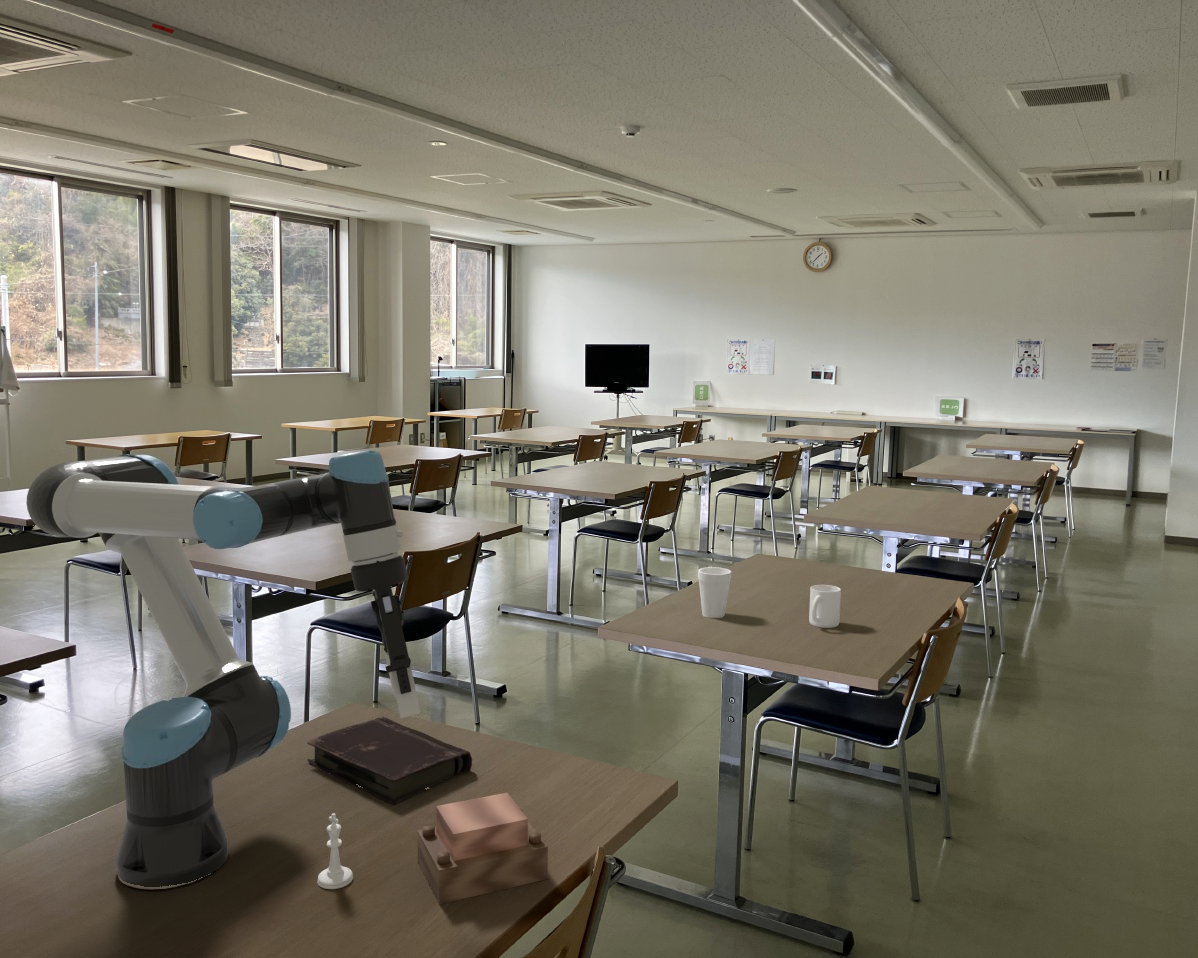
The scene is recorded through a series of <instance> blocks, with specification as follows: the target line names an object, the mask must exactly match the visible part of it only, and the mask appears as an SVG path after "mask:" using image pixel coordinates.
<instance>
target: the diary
mask: <svg viewBox="0 0 1198 958" xmlns="http://www.w3.org/2000/svg"><path fill="white" fill-rule="evenodd" d="M306 744H307V745H309V746H311V747H314V758H313V759H311V758H310V759H309V758H307V760H306V761H307V762H308V763H309V765H311V766H313V767H315V768H316V767H317V768H316V769H318V768H319V769H318V770H320V769H321V770H320V771H322V770H323V771H322V772H324V771H325V772H324V773H326V774H328V773H330V774H331V775H330V774H329V775H330V776H332V775H333V777H334V776H335V778H336V777H337V778H336V779H339V780H341V781H343V782H346V783H347V784H349V783H350V784H349V785H351V786H352V785H353V786H352V787H354V786H355V787H354V788H356V787H358V785H359V786H361V787H363V788H364V789H365V791H366V790H367V792H368V793H371V794H372V795H373V796H374V797H376V798H377V799H379V800H381V801H383V802H385V803H387V804H389V805H390V806H392V807H393V806H395V805H397V804H400V803H403V802H404V801H407V800H408V799H412V798H414V797H416V796H418V795H421V794H422V793H425V792H428V791H429V790H430V789H427V790H426V789H425V788H427V787H432V786H434V785H436V784H438V782H439V783H440V781H441V782H443V781H445V780H448V779H450V778H453V777H454V774H455V773H456V774H455V775H458V774H459V775H460V773H461V770H462V771H465V772H467V773H471V770H472V766H473V758H472V755H471V752H470V751H468V750H466V749H463V748H461V747H458V746H455V745H452V744H449V743H447V742H444V741H442V740H441V739H438V738H436V737H433V736H431V735H429V734H428V733H427V734H426V733H425V732H422V731H420V730H416V729H414V728H411V727H407V726H405V725H403V724H401V723H398V722H396V721H394V720H392V719H390V718H388V717H387V716H383V715H382V716H380V717H376V718H375V719H371V720H367V721H364V722H360V723H356V724H353V725H349V726H346V727H343V728H340V729H337V730H334V731H330V732H327V733H325V734H322V735H319V736H317V737H315V738H311V739H310V740H309V741H307V742H306ZM447 778H448V779H447ZM442 780H443V781H442ZM356 784H358V785H356ZM433 784H434V785H433ZM431 785H432V786H431ZM358 788H359V787H358ZM358 788H357V789H358ZM364 789H363V790H364ZM359 790H360V788H359Z"/></svg>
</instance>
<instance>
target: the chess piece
mask: <svg viewBox="0 0 1198 958" xmlns="http://www.w3.org/2000/svg"><path fill="white" fill-rule="evenodd" d="M336 815H337V814H336V813H334V812H333V813H331V816H328V820H329V821H330V822H331V824H329V825H327V827H326V831H327V834H328V837H329V839H328V840H327V841H326V846H327V848H330V856H329V863H328V865H329V866H328V867H327V868H326V869H324V870H322V871H321V872H320V873H319V874H318V876H317V882H316V883H317V885H318V886H319V887H321V888H322V889H326V890H336V889H340V888H344V887H346V886H348V885H349V884H350V883H352V881H353V879H354V874H353V871H352V870H351V869H350V868H349V867H346V866H343V865H341V859H340V854H339V853H340V852H339V847H340V846H342V845H343V841H342V839H341V838H340V837H339V836H340V833H341V830H342V826H341V824H339V819H338V818H337V817H336Z"/></svg>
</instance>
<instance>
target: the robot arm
mask: <svg viewBox="0 0 1198 958" xmlns="http://www.w3.org/2000/svg"><path fill="white" fill-rule="evenodd" d="M328 466H329V471H328V472H325V473H321V474H315V475H309V476H304V477H299V478H292V479H287V480H282V481H277V482H271V483H264V484H260V485H254V486H253V485H252V486H246V487H231V486H229V487H228V486H211V485H210V486H209V485H190V484H188V485H187V484H179V481H178V478H177V477H176V475H175V473H174V472H173V471H172V469H171V468H170V466H168V465H167V464H166V463H165V462H164V461H163V460H161V459H159V458H157V457H155V456H151V455H148V454H131V453H130V454H119V455H117V456H113V457H112V456H111V457H110V456H109V457H104V458H103V457H102V458H94V459H86V460H85V459H84V460H79V461H77V460H75V461H73V460H72V461H66V462H61V463H58V464H55V465H52V466H50V467H48V468H46V469H45V470H43V471H42V472H41V473H40V474H38V476H37V477H36V478H35V479H33V481H32V483H31V484H30V486H29V487H28V491H27V494H26V508H27V509H26V510H27V512H28V515H29V518H30V519H31V521H32V522H33V523H34V524H35V526H36V527H38V528H39V529H40V530H41V531H43V532H45V533H47V534H49V535H50V536H51V535H52V536H53V537H54V536H55V537H58V538H77V539H81V538H82V539H85V538H89V537H92V536H94V535H96V534H98V535H99V536H100V538H101V540H102V542H103V544H104V547H105V549H107V550H108V551H112V552H115V553H118V554H120V555H121V556H122V558H123V560H124V562H125V565H126V567H127V568H128V569H127V570H129V573H130V575H131V576H132V578H133V581H134V583H135V585H136V587H137V589H138V591H139V593H140V595H141V596H142V598H143V600H144V602H145V605H146V606H147V609H148V610H149V614H150V615H151V617H152V619H153V621H154V623H155V625H156V627H157V629H158V630H159V633H160V635H161V637H162V638H163V641H164V643H165V644H166V645H165V646H167V649H168V650H169V653H170V655H171V656H172V659H173V661H174V662H175V664H176V666H177V668H178V671H179V673H180V674H181V676H182V678H183V681H184V682H185V684H186V686H185V690H184V692H183V695H182V696H181V697H179V696H178V697H172V698H171V699H169V700H164V699H163V700H161V701H157V702H155V703H152V704H149V705H146V706H145V707H143V708H141V709H140V710H138V711H137V712H135V713H134V714H133V715H132V716H131V717H130V718H129V719H128V721H127V722H126V723H125V726H124V727H123V733H122V747H121V758H122V760H123V771H124V786H125V787H124V789H125V806H126V823H125V826H124V831H123V833H122V836H121V837H122V838H121V840H120V843H119V847H118V850H117V852H116V853H117V855H116V858H115V869H116V871H117V872H116V876H117V875H118V876H119V877H120V878H121V879H122V880H123V881H125V882H127V883H130V884H134V885H140V886H144V887H160V886H161V887H162V886H169V885H170V886H171V885H177V884H182V883H188V882H191V881H194V880H196V879H197V880H198V879H199V878H201V877H204V876H206V875H208V874H210V873H212V872H213V871H215V870H216V871H218V870H220V869H221V867H222V866H223V865H224V864H225V863H226V861H227V860H228V856H229V839H228V835H227V833H226V831H225V828H224V827H223V823H222V821H221V819H220V817H219V815H218V812H217V810H216V807H215V805H214V804H215V803H214V784H213V783H214V782H213V781H214V780H215V779H216V778H219V777H220V776H222V775H224V774H226V773H228V772H230V771H232V770H234V769H236V768H238V767H241V766H242V765H243V764H246V763H247V762H249V761H252V760H254V759H256V758H259V757H260V758H261V756H263V755H264V754H267V752H269V751H270V750H272V749H273V748H275V747H276V746H278V745H279V744H280V743H281V742H282V741H283V739H284V738H285V737H286V735H287V734H288V731H289V727H290V726H289V725H290V722H291V720H292V710H291V709H292V707H291V703H290V699H289V696H288V693H287V692H286V690H285V688H284V687H283V685H282V684H281V683H280V682H279V681H278V680H276V679H275V680H274V679H273V678H272V677H271V676H268V675H260V674H259V671H257V669H256V667H255V664H254V662H251V661H246V660H243V659H241V658H240V657H239V655H238V653H237V651H236V650H235V648H234V645H233V644H232V642H231V640H230V638H229V636H228V633H227V631H225V628H224V626H223V624H222V623H221V620H220V619H219V616H218V614H217V613H216V610H215V609H214V606H213V604H212V603H211V601H210V599H209V597H208V595H207V592H206V591H205V589H204V587H203V584H202V583H201V580H200V579H199V577H198V575H197V573H196V571H195V569H194V567H193V565H192V563H191V561H190V559H189V557H188V556H187V553H186V551H185V549H184V548H183V545H182V544H181V542H180V540H181V539H182V540H191V541H192V540H193V541H201V542H202V543H204V544H205V545H207V546H208V547H209V548H211V549H214V550H224V549H225V550H226V549H237V548H242V547H244V546H247V545H250V544H253V543H258V542H262V541H265V540H269V539H272V538H278V537H281V536H286V535H291V534H294V533H298V532H304V531H308V530H311V529H315V528H316V529H317V528H322V527H325V526H327V527H328V526H331V525H338V524H340V525H341V529H342V534H343V535H342V536H343V540H344V541H343V542H344V546H345V550H346V551H345V552H346V554H347V555H346V556H347V561H348V562H349V563H353V565H352V566H351V568H350V573H351V577H352V578H351V579H352V581H353V587H354V589H355V591H356V592H359V593H363V592H370V591H372V596H373V597H374V600H371V601H370V605H371V611H372V613H373V616H374V617H375V622H376V624H377V627H378V630H379V631H380V634H381V638H382V641H381V643H382V645H383V650H384V652H385V654H384V656H385V661H386V664H387V665H385V672H386V674H389V679H390V684H391V689H392V694H393V697H394V698H396V703H397V708H398V713H399V719H403V718H407V717H411V716H414V715H418V714H421V710H420V709H421V708H420V705H419V699H418V695H417V690H416V689H417V688H416V685H415V680H414V675H413V670H412V666H411V664H412V663H411V662H412V661H411V658H410V657H409V653H408V646H407V643H406V640H405V635H404V630H403V626H404V620H403V615H402V603H401V600H400V598H401V597H400V596H399V595H395V594H393V589H392V587H393V586H396V585H400V584H403V583H405V582H406V581H408V577H409V576H408V572H407V567H406V562H405V558H404V557H403V556H402V555H399V553H401V551H402V550H403V549H402V545H401V541H400V539H399V538H401V537H403V536H404V531H403V530H401V529H400V530H399V529H398V525H397V520H396V518H395V517H396V516H395V513H394V507H393V501H392V500H393V499H392V494H391V489H390V483H389V479H390V478H389V476H388V474H387V472H386V471H387V470H386V466H385V463H384V459H383V456H382V454H381V453H380V451H378V450H376V449H369V450H368V449H367V450H361V451H356V452H350V453H344V454H341V455H336V456H333V457H331V458H329V461H328ZM397 529H398V530H397ZM179 539H180V540H179ZM217 869H218V870H217ZM216 871H215V872H216ZM212 874H213V873H212ZM210 875H211V874H210ZM198 881H199V880H198Z"/></svg>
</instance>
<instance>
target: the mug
mask: <svg viewBox="0 0 1198 958" xmlns="http://www.w3.org/2000/svg"><path fill="white" fill-rule="evenodd" d="M809 589H810V593H809V595H810V596H809V611H808V612H809V614H808V615H809V618H808V620H809V621H808V622H809V624H810V625H811V626H813V627H816V628H817V627H818V628H821V629H830V628H831V629H833V628H836V627H838V626H839V624H840V619H841V618H840V617H841V616H840V615H841V597H842V595H841V594H842V589H841V588H840V587H838V586H835V585H831V584H830V585H829V584H816V585H812V586H810V587H809Z"/></svg>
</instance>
